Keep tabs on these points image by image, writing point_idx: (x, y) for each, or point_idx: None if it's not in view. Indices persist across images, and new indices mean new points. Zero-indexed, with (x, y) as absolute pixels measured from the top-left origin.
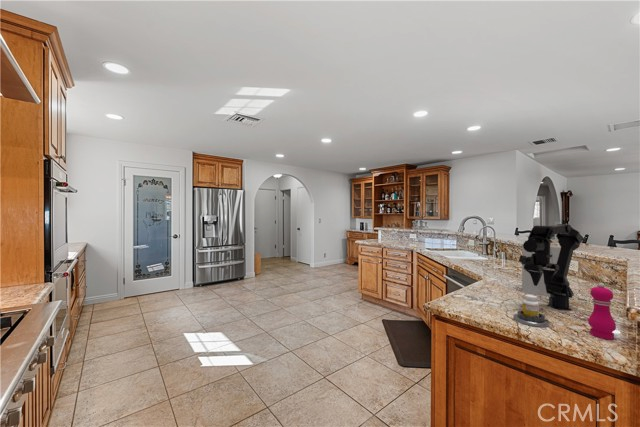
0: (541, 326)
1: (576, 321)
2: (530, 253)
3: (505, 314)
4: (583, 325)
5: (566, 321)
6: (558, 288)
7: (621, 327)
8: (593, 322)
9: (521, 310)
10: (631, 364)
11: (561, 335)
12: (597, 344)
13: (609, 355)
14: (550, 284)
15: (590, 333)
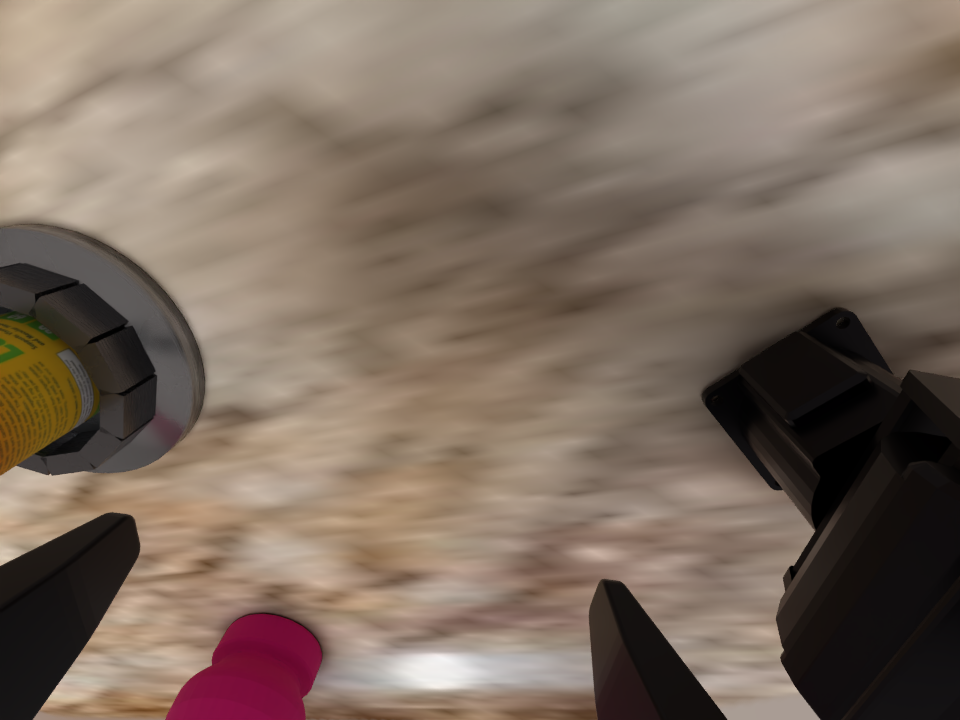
0: None
1: (437, 545)
2: None
3: (4, 126)
4: (382, 579)
5: (367, 507)
6: (805, 625)
7: (552, 693)
8: (167, 714)
9: (18, 290)
10: None
11: (44, 531)
12: (116, 641)
13: None
14: (918, 570)
15: (246, 616)
